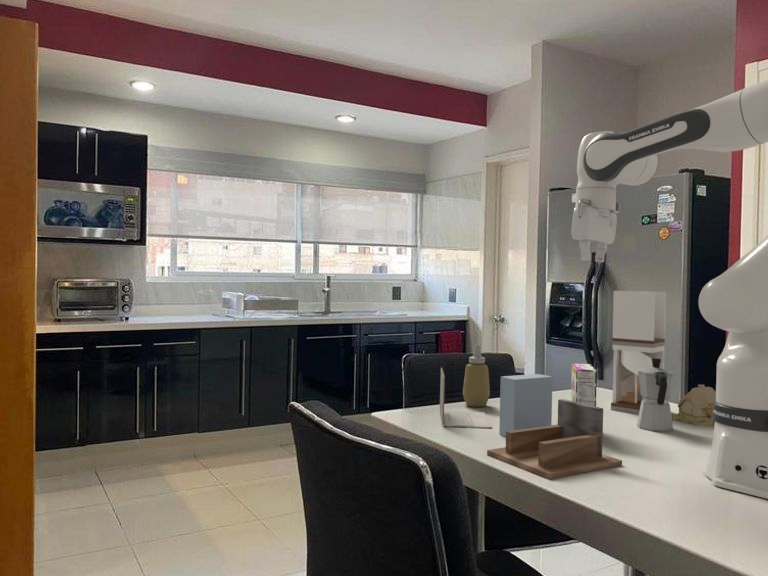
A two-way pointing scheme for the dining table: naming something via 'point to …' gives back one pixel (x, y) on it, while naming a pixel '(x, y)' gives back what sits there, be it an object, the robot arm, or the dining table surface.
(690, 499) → the dining table surface
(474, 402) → the squeeze bottle
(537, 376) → the book
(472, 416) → the laptop
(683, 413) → the ceramic model
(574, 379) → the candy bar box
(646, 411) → the coffee maker
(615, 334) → the white coffee grinder
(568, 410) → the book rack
